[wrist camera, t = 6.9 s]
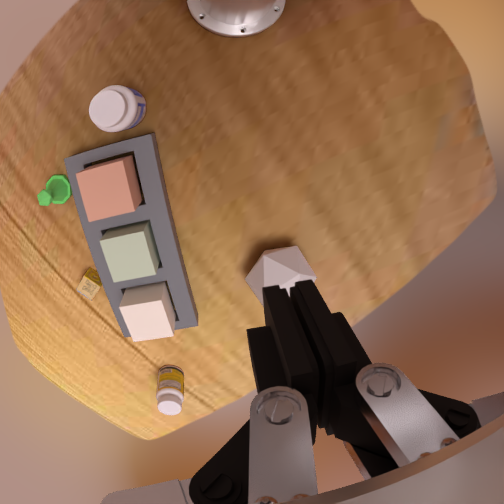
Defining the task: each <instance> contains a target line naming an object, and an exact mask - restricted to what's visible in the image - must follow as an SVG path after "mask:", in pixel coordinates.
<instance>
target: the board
mask: <svg viewBox="0 0 504 504" xmlns="http://www.w3.org/2000/svg"><path fill="white" fill-rule="evenodd" d="M131 151H134V154H135V159H136V164H137V168H138V173H139V177H140V182H141V186H142V190H143V194H144V198H145V200H142V201H141V203H140V204H139V206H138V207H137V209H136V210H135V211H134V212H129V213H125V214H121V215H116V216H112V217H108V218H104V219H100V220H96V221H92V222H89V221H88V217H87V214H86V211H85V207H84V204H83V200H82V196H81V193H80V189H79V185H78V181H77V177H76V173H78V172H80V171H82V170H84V169H86V168H87V167H89V166H92V165H91V162H94V161H98V160H101V159H105V158H108V157H112V156H115V155H119V154H123V153H127V152H131ZM64 161H65V165H66V170H67V174H68V178H69V181H70V185H71V189H72V193H73V196H74V200H75V204H76V207H77V211H78V214H79V217H80V221H81V224H82V227H83V230H84V233H85V236H86V239H87V242H88V245H89V248H90V251H91V254H92V257H93V260H94V263H95V266H96V268H97V271H98V274H99V276H100V279H101V282H102V284H103V287H104V289H105V292H106V295H107V297H108V300H109V302H110V304H111V307H112V309H113V312H114V314H115V316H116V319H117V321H118V323H119V326H120V328H121V330H122V332H123V335H124V337H131V334H130V332H129V330H128V328H127V325H126V323H125V321H124V318H123V316H122V313H121V311H120V308H119V306H120V303H121V300H122V298H123V295H124V292H125V290H126V288H128V287H134V286H139V285H145V284H150V283H156V282H161V281H167V283H168V286H169V289H170V293H171V296H172V299H173V302H174V305H175V309H176V310H175V315H176V318H175V328H174V330H177V329H183V328H189V327H195V326H198V312H197V309H196V305H195V302H194V298H193V295H192V291H191V287H190V284H189V280H188V276H187V272H186V269H185V265H184V261H183V257H182V253H181V249H180V245H179V241H178V237H177V233H176V229H175V225H174V221H173V216H172V212H171V208H170V203H169V199H168V195H167V190H166V186H165V181H164V176H163V172H162V167H161V162H160V157H159V152H158V147H157V142H156V137H155V133H151V134H147V135H143V136H139V137H135V138H131V139H127V140H124V141H120V142H116V143H113V144H109V145H106V146H102V147H99V148H95V149H92V150H89V151H86V152H82V153H79V154H76V155H73V156H70V157H68V158H65V159H64ZM149 219H150V222H151V226H152V230H153V234H154V237H155V241H156V245H157V248H158V252H159V255H160V262H159V265H158V269H157V273H156V275H151V276H146V277H141V278H135V279H130V280H125V281H119V282H113V279H112V276H111V273H110V271H109V268H108V265H107V262H106V259H105V256H104V253H103V250H102V247H101V244H100V239H101V238H102V237H103V235H104V234H105V233H106V231H107V230H108V229H109V228H113V227H117V226H122V225H126V224H131V223H135V222H140V221H144V220H149Z"/></svg>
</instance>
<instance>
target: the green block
mask: <svg viewBox="0 0 504 504" xmlns="http://www.w3.org/2000/svg"><path fill="white" fill-rule="evenodd" d="M100 244H101V247H102V250H103V253H104V256H105V259H106V262H107V265H108V268H109V271H110V273H111V276H112V279H113V282H119V281H125V280H130V279H135V278H141V277H146V276H151V275H156V273H157V269H158V265H159V262H160V255H159V252H158V248H157V245H156V241H155V237H154V234H153V230H152V226H151V222H150V219H149V220H144V221H140V222H135V223H131V224H126V225H122V226H117V227H113V228H109V229H108V230H107V231H106V233H105V234H104V235H103V237H102V238H101V239H100Z"/></svg>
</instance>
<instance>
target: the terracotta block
mask: <svg viewBox="0 0 504 504" xmlns="http://www.w3.org/2000/svg"><path fill="white" fill-rule="evenodd" d="M76 177H77V181H78V185H79V189H80V193H81V196H82V200H83V204H84V207H85V211H86V214H87V217H88V221H89V222H92V221H96V220H100V219H104V218H108V217H112V216H116V215H121V214H125V213H129V212H134V211H135V210H136V209H137V207H138V206H139V204H140V203H141V201H142V200H143V199H142V195H141V191H140V187H139V183H138V178H137V174H136V169H135V165H134V160H133V156H132V155H129V156H125V157H121V158H118V159H114V160H110V161H107V162H103V163H99V164H96V165H93V166H89V167H87V168H86V169H84V170H82V171H80V172H78V173H76Z"/></svg>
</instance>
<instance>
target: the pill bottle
mask: <svg viewBox="0 0 504 504" xmlns="http://www.w3.org/2000/svg"><path fill="white" fill-rule="evenodd" d="M145 113H146V102H145V99H144V97H143V96H142V94H141V93H139V92H138V91H136V90H134V89H131V88H128V87H125V86H121V85H112V86H108V87H106V88H104V89H102V90H101V91H100V92H99V93H98V94H97V95H95V97H94V98H93V99H92V101H91V103H90V106H89V115H90V118H91V120H92V121H93V122H94V123H95V125H96V126H97V127H98V128H100V129H101V130H103V131H106V132H118V131H122V130H126V129H130V128H133V127H135V126H136V125H138V124H139V123H140V122H141V121H142V119H143V118H144V116H145Z"/></svg>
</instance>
